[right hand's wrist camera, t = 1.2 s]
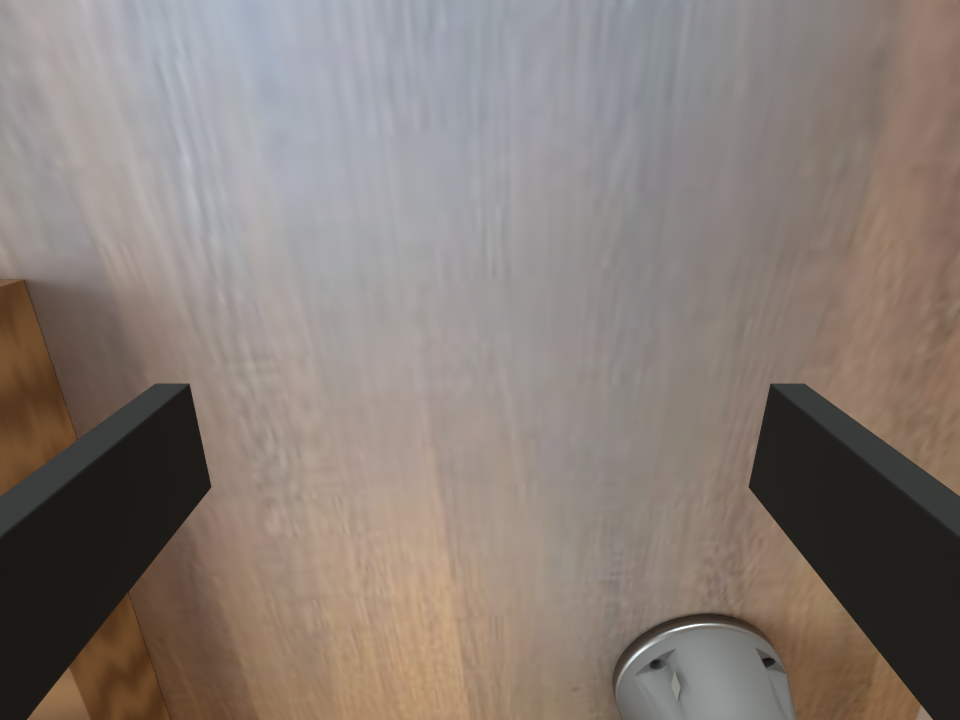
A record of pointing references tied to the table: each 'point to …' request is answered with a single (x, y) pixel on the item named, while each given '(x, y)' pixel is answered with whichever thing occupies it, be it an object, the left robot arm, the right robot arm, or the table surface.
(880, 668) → the table surface
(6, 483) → the post
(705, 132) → the table surface
